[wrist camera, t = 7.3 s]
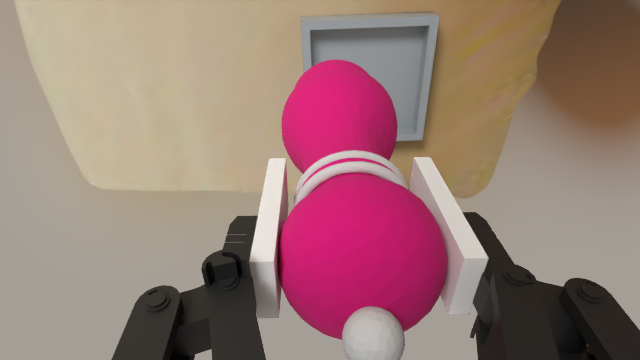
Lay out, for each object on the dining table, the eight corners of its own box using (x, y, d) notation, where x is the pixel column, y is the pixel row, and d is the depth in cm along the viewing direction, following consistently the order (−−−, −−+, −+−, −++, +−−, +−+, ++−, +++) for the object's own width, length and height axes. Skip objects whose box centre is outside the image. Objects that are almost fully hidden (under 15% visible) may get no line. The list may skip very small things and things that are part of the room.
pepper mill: (321, 162, 29) (337, 452, 12) (265, 90, 26) (180, 352, 9) (401, 113, 27) (552, 383, 10) (350, 29, 24) (449, 220, 7)
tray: (301, 16, 44) (300, 21, 42) (432, 11, 44) (439, 15, 42) (308, 134, 53) (307, 144, 50) (417, 130, 53) (422, 140, 50)
